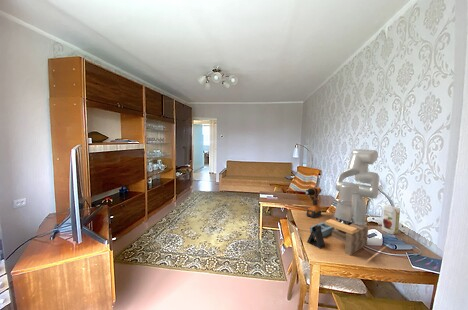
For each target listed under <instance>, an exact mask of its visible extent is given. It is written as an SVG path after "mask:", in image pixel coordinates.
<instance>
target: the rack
mask: <svg viewBox="0 0 468 310" xmlns="http://www.w3.org/2000/svg"><path fill="white" fill-rule="evenodd" d="M316 225H318V226H319V225H320V226H321V232H322V235H323V238H324V237H327V236H329V235H332V230H334V229H336V228H334V227H331V226H329V225H326V224H325V222H324V221H322V222H318V223H316V224H314V225H312V226H310V227H309V233H310V234H311V232H312V227H314V226H316Z"/></svg>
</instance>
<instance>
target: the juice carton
mask: <svg viewBox="0 0 468 310" xmlns="http://www.w3.org/2000/svg"><path fill="white" fill-rule="evenodd" d="M400 215H401V208H400V207H397V206H393V205H390V204H388V205H387V204H386V205H384V206H383V210H382V222H381V231H383V232H385V233H388V234H390V235H396V234H398V232H399V227H400Z"/></svg>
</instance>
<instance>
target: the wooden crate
mask: <svg viewBox="0 0 468 310" xmlns="http://www.w3.org/2000/svg"><path fill="white" fill-rule="evenodd" d="M356 228H357V232H355V233H354V234H350V233H346V234H344V233H341V232H340V230H339V229H337V228H335V229H334V230H332V233H331V237H332V238H336V239H338V240H339V241H342V242H345V244H344V253H345V254H347V255H349V256H351V255H353V254H354V253H356V252H357V251H359V250H362V248H364V247H366V246H367V245H368V236H369V225H368V224H367V225H364V224H362V225H358V226H356Z"/></svg>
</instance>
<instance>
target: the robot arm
mask: <svg viewBox="0 0 468 310" xmlns="http://www.w3.org/2000/svg"><path fill="white" fill-rule="evenodd" d="M378 158H379V152H378V150H374V149H361V148H360V149H359V148H358V149H353V150H351V156H350V158H349V162H348V165H347V168H346V169H345V170H343V171H342V172H341V173H339V175H338V177H337V179H336V182H335V187H334V188H335V190H336V191H337V192H338V193H339V194H338V198H337V199H336V201H337V203H336V207H335V213H334V214H333V218H335V221H337V222H341V220H344V221H346V224H347V225H349V226H351V225H357V226H361V225H362V224H364V225H367V226H368V222H367V221H366V210H367V209H366V208H367V206H366V205H367V202H366V199H365V198H369V199H376V198H378V195H379V185H380V176H379V173H378V172H375V171H369V165H373V164H374V163H375V162H376V161H377V160H378ZM353 176H354V180H355V182H357V183H355V182H354V183H353V182H348V181H344V180H346V178H349V177H353ZM366 184H367V185H366Z"/></svg>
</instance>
